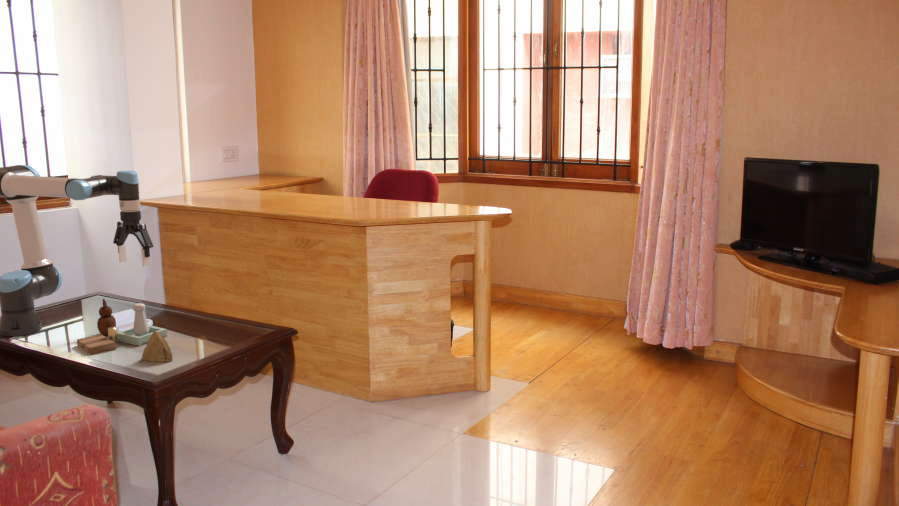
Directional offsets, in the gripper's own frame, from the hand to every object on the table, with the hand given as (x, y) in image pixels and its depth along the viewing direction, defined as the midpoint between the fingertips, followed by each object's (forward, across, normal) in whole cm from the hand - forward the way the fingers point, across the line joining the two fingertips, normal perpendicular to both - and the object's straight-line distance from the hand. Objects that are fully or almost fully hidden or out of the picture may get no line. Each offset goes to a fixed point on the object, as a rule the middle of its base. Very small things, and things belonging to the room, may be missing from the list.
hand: (134, 263), depth 302 cm
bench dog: (+27, +7, -18) cm, 33 cm away
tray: (+27, +12, -9) cm, 31 cm away
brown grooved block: (+27, +6, -24) cm, 37 cm away
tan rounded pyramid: (+27, +37, -23) cm, 51 cm away
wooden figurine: (+27, -4, -12) cm, 30 cm away
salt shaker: (+26, +12, -9) cm, 30 cm away
